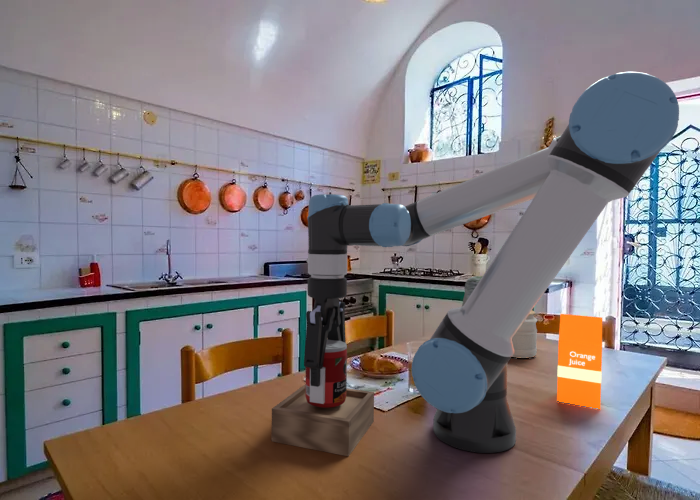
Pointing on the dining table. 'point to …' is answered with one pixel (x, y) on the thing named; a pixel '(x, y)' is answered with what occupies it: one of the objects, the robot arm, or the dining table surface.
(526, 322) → the jar
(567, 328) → the orange juice
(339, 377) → the canned food
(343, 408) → the box
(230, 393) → the dining table surface
